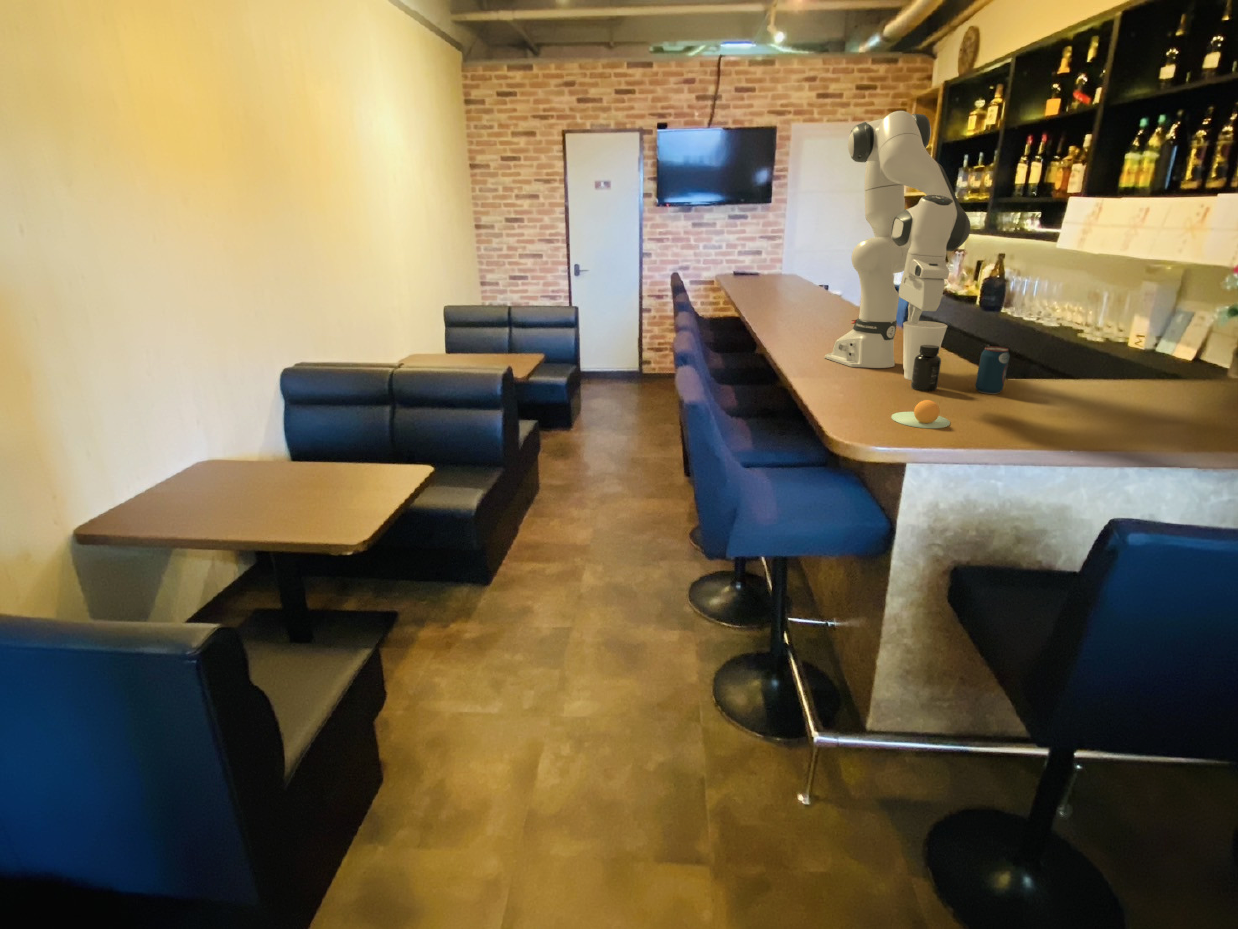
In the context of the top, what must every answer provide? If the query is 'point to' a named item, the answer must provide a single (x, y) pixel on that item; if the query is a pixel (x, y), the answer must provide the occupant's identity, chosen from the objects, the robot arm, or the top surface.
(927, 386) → the supplement bottle
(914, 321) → the robot arm
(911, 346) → the cup
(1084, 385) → the top surface
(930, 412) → the ball
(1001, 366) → the soda can
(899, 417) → the pale green disc
